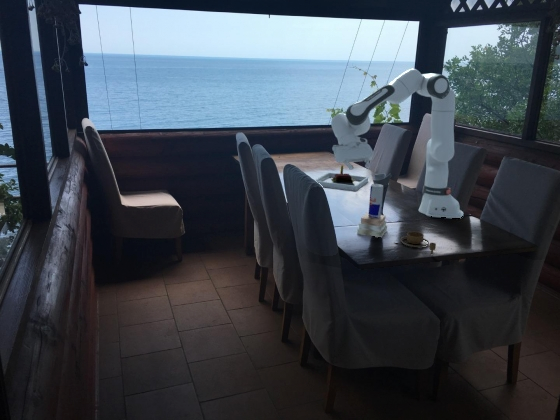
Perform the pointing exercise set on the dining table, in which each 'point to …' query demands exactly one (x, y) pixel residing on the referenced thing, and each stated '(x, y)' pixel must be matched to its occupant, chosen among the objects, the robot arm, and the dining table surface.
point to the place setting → (417, 240)
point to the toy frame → (342, 186)
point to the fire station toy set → (342, 178)
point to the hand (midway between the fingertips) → (360, 168)
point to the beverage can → (375, 200)
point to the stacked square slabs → (372, 226)
